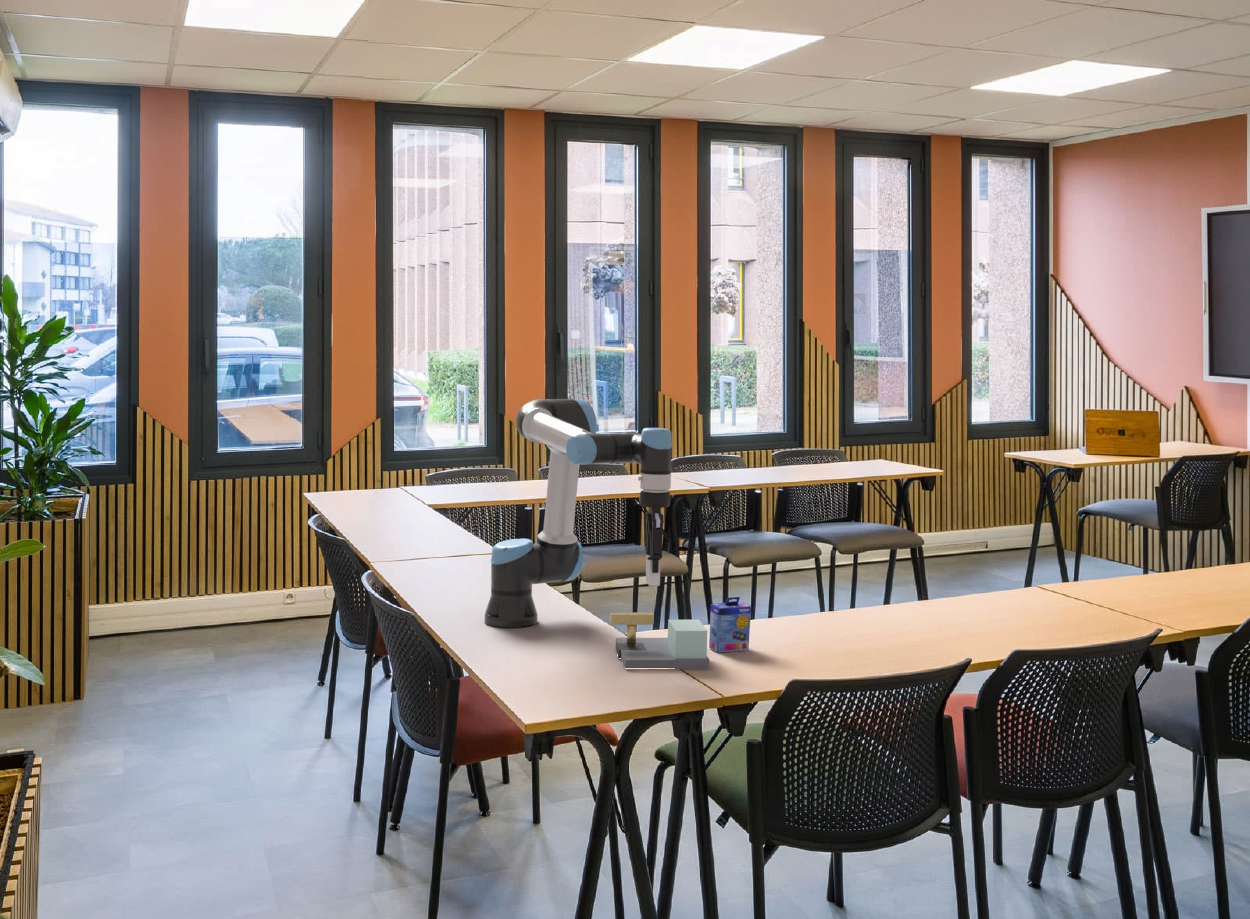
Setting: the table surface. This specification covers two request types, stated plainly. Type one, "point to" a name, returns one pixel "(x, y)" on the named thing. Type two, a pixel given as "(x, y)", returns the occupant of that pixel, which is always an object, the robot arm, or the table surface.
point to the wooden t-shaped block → (631, 623)
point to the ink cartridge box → (729, 626)
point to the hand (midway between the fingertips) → (652, 583)
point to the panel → (654, 655)
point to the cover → (687, 639)
